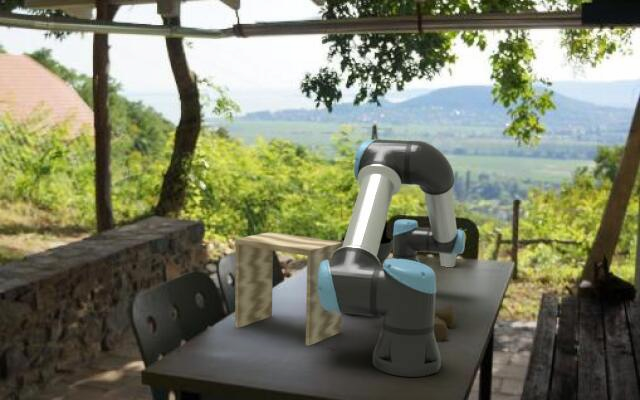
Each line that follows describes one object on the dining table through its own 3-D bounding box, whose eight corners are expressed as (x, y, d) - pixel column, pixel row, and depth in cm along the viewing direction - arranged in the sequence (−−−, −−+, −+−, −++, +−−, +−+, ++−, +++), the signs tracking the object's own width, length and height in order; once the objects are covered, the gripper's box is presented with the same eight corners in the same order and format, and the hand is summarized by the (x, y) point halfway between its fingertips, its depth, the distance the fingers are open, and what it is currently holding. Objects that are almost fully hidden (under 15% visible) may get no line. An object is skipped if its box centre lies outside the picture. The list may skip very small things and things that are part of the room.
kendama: (417, 342, 174) (417, 318, 193) (456, 345, 172) (452, 320, 192) (419, 319, 173) (418, 297, 192) (458, 322, 172) (453, 300, 191)
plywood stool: (269, 315, 192) (270, 232, 190) (341, 332, 179) (343, 242, 176) (235, 327, 181) (235, 238, 178) (309, 345, 167) (310, 250, 165)
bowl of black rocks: (333, 269, 254) (334, 218, 252) (347, 259, 273) (348, 212, 271) (386, 274, 248) (388, 222, 246) (397, 263, 267) (398, 215, 265)
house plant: (477, 269, 258) (479, 226, 256) (445, 272, 253) (447, 228, 251) (456, 262, 271) (457, 221, 270) (425, 264, 266) (426, 222, 264)
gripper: (419, 292, 204) (380, 308, 186) (358, 281, 216) (316, 296, 198) (420, 267, 203) (380, 281, 185) (359, 258, 215) (317, 270, 197)
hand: (347, 289), depth 191 cm, fingers closed on disposable coffee cup, 8 cm apart
